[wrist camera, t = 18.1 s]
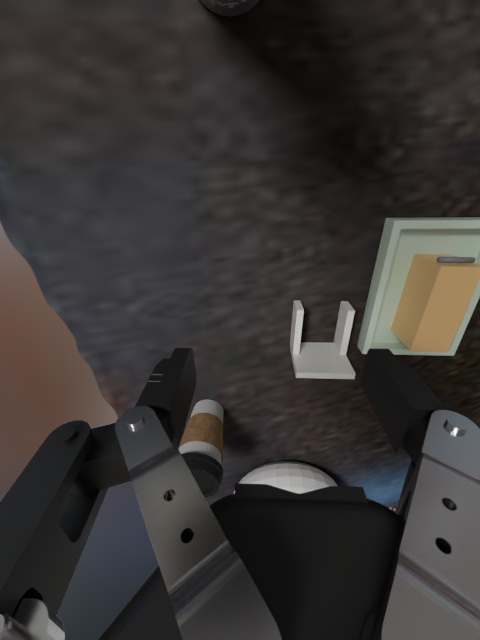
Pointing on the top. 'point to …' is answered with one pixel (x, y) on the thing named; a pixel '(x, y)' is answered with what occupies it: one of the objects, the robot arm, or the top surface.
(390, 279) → the tray
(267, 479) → the pot
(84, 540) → the robot arm
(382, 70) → the top surface
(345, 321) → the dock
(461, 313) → the box with top handle
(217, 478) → the coffee cup
